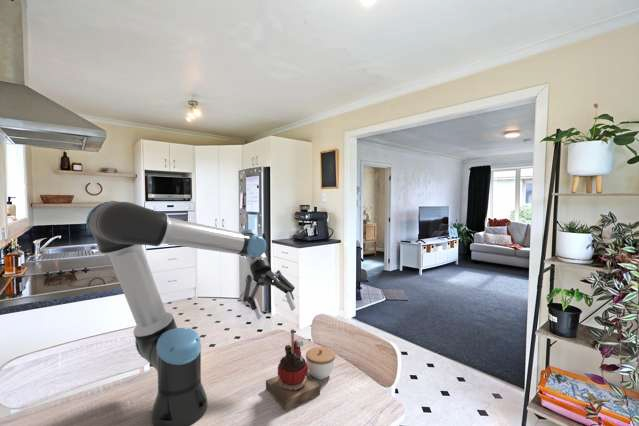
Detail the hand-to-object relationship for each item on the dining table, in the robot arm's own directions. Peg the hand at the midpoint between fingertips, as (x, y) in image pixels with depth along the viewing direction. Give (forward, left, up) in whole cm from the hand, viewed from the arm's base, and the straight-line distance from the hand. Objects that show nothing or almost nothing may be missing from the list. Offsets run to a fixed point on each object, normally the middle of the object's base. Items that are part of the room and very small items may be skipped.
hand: (277, 313), depth 107 cm
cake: (0, -10, -21) cm, 23 cm away
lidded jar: (+13, -8, -24) cm, 28 cm away
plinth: (0, -10, -23) cm, 26 cm away
